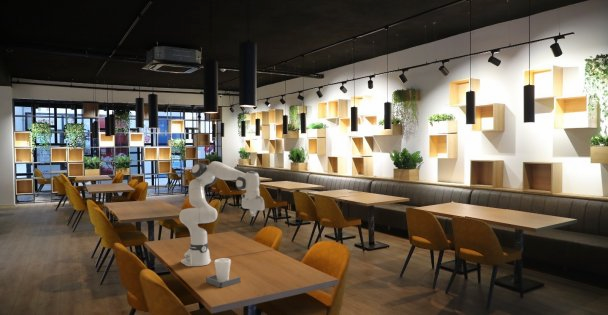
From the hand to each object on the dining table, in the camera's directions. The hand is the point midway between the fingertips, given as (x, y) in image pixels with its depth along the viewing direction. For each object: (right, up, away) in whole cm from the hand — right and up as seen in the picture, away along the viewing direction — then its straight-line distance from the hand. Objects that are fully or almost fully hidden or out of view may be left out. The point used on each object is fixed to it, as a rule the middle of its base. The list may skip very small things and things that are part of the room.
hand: (253, 216), depth 278 cm
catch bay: (-14, -35, -30) cm, 48 cm away
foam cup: (-15, -35, -30) cm, 48 cm away
